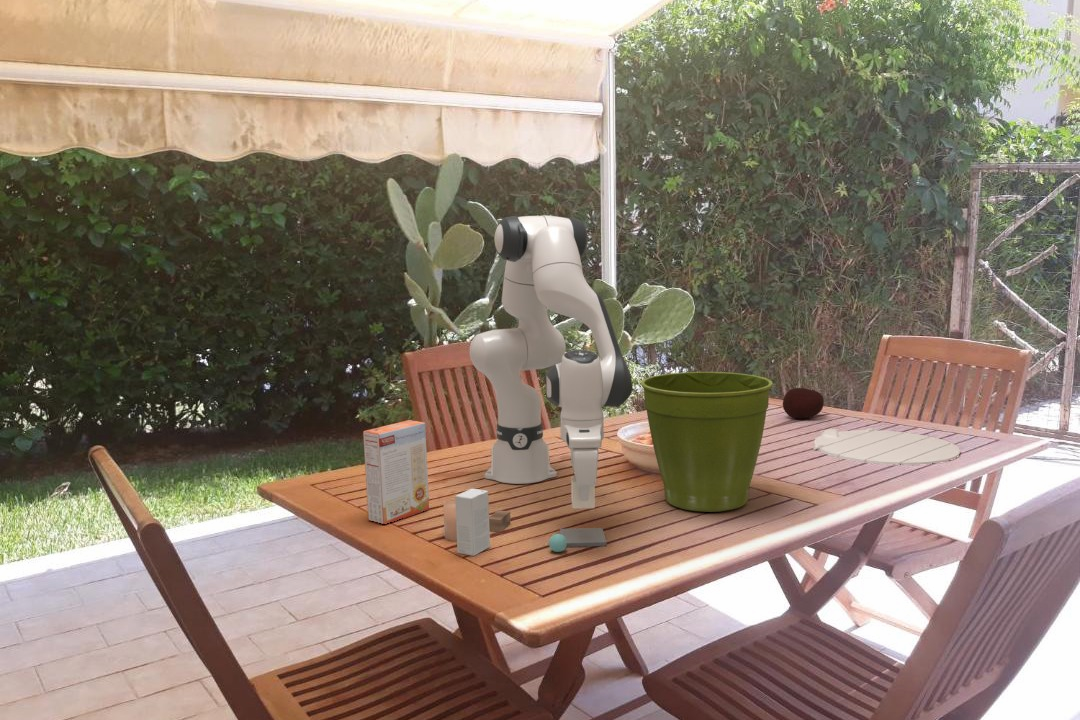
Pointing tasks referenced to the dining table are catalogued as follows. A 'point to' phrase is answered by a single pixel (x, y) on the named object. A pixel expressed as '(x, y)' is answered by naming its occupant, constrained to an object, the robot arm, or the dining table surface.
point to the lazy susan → (885, 447)
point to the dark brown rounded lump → (802, 403)
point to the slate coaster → (584, 537)
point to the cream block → (576, 499)
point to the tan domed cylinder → (450, 521)
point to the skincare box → (472, 521)
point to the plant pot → (706, 435)
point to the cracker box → (396, 471)
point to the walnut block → (499, 521)
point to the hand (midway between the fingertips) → (582, 496)
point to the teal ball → (557, 542)
